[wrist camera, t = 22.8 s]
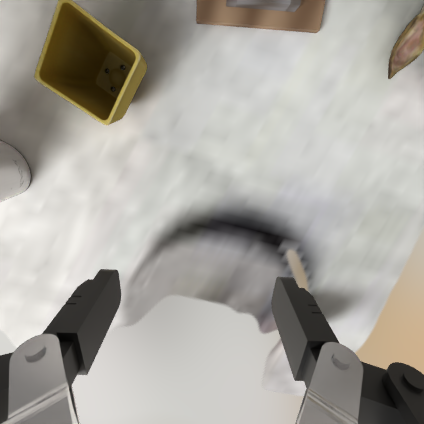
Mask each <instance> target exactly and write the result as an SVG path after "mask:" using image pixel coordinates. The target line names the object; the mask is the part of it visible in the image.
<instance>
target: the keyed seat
mask: <svg viewBox="0 0 424 424" xmlns="http://www.w3.org/2000/svg"><path fill="white" fill-rule="evenodd" d="M324 5H325V0H197V16H196V21H197V23H198V24H211V25H223V26H236V27H248V28H260V29H273V30H285V31H298V32H310V33H317V32H318V31H319V30H320V25H321V20H322V15H323V10H324Z"/></svg>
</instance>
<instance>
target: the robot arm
mask: <svg viewBox="0 0 424 424" xmlns="http://www.w3.org/2000/svg"><path fill="white" fill-rule="evenodd" d="M30 179H31V174H30V169H29V166H28V164H27V162H26V161H25V159H24V158H23V156H22V155H21V154H20V153H19V152H18V151H17V150H16V149H15V148H13V147H12V146H10V145H9V144H7V143H4V142H2V141H0V202H2V201H4V200H7V199H9V198H11V197H14V196H16V195H18V194H21V193H23V192H24V191H25V190H26V189H27V188H28V186H29V184H30ZM120 301H121V289H120V281H119V273H118V271H117V270H108V269H101V270H100V271H99V272H98V273H97V275H96V276H95V278H94V279H93V280H89V279H88V280H87V281H85V282H84V283H82V284H81V285H80V286H78V287H77V289H76V290H75V291H74V293H73V294H72V295H71V297H70V298H69V299H68V301H67V302H66V304H65V305H64V306H63V307H62V308H61V310H60V311H59V312H58V314H57V315H56V316H55V318H54V319H53V320H52V322H51V323H50V324H49V326H48V327H47V328H46V330H45V331H44V332H43V333H42V334H41V335H38V336H35V337H33V338H31V339H29V340H27V341H26V342H24V343H23V344H21V345H20V346H19V347H18V348H17V349H16V350H15V351H14V352H13V353H9V354H5V355H1V356H0V424H2V423H3V424H80V422H79V417H78V412H77V407H76V402H75V398H74V392H73V387H72V383H73V381H74V379H75V377H76V376H77V375H87V374H88V372H89V370H90V368H91V365H92V363H93V361H94V359H95V357H96V355H97V353H98V350H99V348H100V346H101V344H102V342H103V340H104V338H105V335H106V333H107V331H108V329H109V327H110V325H111V323H112V320H113V318H114V316H115V314H116V312H117V310H118V308H119V305H120ZM272 312H273V315H274V318H275V321H276V325H277V328H278V331H279V334H280V337H281V340H282V343H283V346H284V349H285V352H286V355H287V358H288V361H289V364H290V368H291V371H292V374H293V377H294V380H295V381H304V382H305V385H306V388H307V389H306V392H305V395H304V398H303V401H302V405H301V407H300V411H299V414H298V417H297V420H296V423H295V424H424V375H423V374H422V373H421V372H419V371H418V370H416V369H415V368H413V367H411V366H409V365H406V364H403V363H398V362H395V363H392V364H390V365H389V367H388V369H387V370H385V369H382V368H379V367H376V366H373V365H370V364H367V363H364V362H361V361H360V360H359V358H358V357H357V355H356V354H355V353H354V352H353V351H351V350H350V349H349V348H347V347H346V346H344V345H342V344H340V343H339V341H338V340H337V338H336V336H335V334H334V333H333V331H332V329H331V327H330V326H329V324H328V322H327V321H326V319H325V317H324V315H323V314H322V312H321V310H320V308H319V307H318V306H317V303H316V301H315V300H314V298H313V296H312V295H311V294H310V293H309V292H308V291H306V290H305V289H304V288H299V287H298V285H297V283H296V281H295V279H294V278H293V277H277V279H276V283H275V287H274V292H273V297H272Z"/></svg>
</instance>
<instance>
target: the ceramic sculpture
mask: <svg viewBox="0 0 424 424" xmlns="http://www.w3.org/2000/svg"><path fill="white" fill-rule="evenodd" d="M423 50H424V6H423V8H422V9H421V12H420V14H418V15H417V16H416V17H415V18H414V19H413V20H412V21H411V22H410V23H409V24H408V25H407V27H406V29H405V30H404V31H403V32H402V34H401V35H400V36H399V38H398V40H397V42H396V44H395V45H394V47H393V50H392V52H391V56H390V59H389V68H388V79H391V78H392V77H393V76H394V75H395V74H396V73H397V72H398V71H400V70H401V69H403V68H404V67H406V66H407V65H409V64H410V63H411V62H413V61H414V60H415V59H416V58H417V57H418V56H419V55H420V54H421V53H422V51H423Z"/></svg>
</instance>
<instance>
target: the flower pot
mask: <svg viewBox="0 0 424 424" xmlns="http://www.w3.org/2000/svg"><path fill="white" fill-rule="evenodd" d="M122 65H123V66H125V69H124V70H122V69H121V66H122ZM106 69H109V73H106ZM146 70H147V64H146V62H145V60H144V58H143V57H142V55H141V53H140V52H139V51H138V50H137V49H136V48H135V47H133V46H132V45H130V44H129V43H128V42H126V41H125V40H123V39H122V38H120V37H119V36H118V35H116V34H115V33H114V32H112V31H111V30H110V29H108V28H107V27H105V26H104V25H103V24H102V23H100V22H99V21H98V20H96V19H95V18H94V17H93V16H91V15H90V14H89V13H88V12H86V11H85V10H84V9H82V8H81V7H80V6H79V5H77V4H76V3H75V2H74V1H72V0H58V3H57V6H56V9H55V13H54V15H53V19H52V22H51V26H50V29H49V31H48V34H47V38H46V41H45V44H44V47H43V50H42V53H41V56H40V58H39V61H38V65H37V67H36V71H35V75H34V77H35V79H36V80H37V81H38V82H39V83H41V84H42V85H44V86H45V87H47V88H48V89H50V90H51V91H53V92H54V93H56V94H58V95H59V96H61V97H62V98H64V99H65V100H67V101H68V102H70V103H71V104H73V105H75V106H76V107H78V108H79V109H81V110H82V111H84V112H85V113H87V114H88V115H90V116H91V117H93V118H94V119H96V120H97V121H99V122H101V123H102V124H104V125H109V124H111V123H114V122H116V121H118V120H120V119H121V118H122V117H123V116H124V115H125V113H126V111H127V109H128V107H129V105H130V103H131V101H132V99H133V96H134V94H135V92H136V90H137V88H138V86H139V84H140V82H141V80H142V78H143V77H144V75H145V73H146ZM112 87H114V88H115V91H112V90H111V88H112Z"/></svg>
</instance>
